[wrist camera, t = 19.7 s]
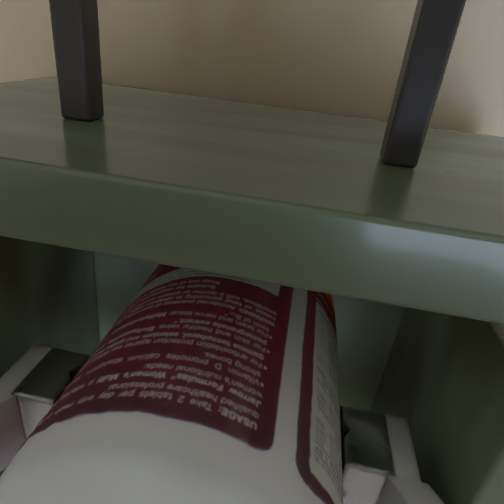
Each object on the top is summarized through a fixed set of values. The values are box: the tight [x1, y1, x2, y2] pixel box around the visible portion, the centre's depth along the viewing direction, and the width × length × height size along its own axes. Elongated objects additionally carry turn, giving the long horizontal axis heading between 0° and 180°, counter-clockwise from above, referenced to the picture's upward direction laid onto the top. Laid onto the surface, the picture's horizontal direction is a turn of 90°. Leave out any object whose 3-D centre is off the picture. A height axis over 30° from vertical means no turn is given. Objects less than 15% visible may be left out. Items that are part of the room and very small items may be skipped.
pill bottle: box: [0, 264, 344, 504], centre depth 9 cm, size 6×6×11 cm
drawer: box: [0, 0, 504, 504], centre depth 10 cm, size 19×13×8 cm
